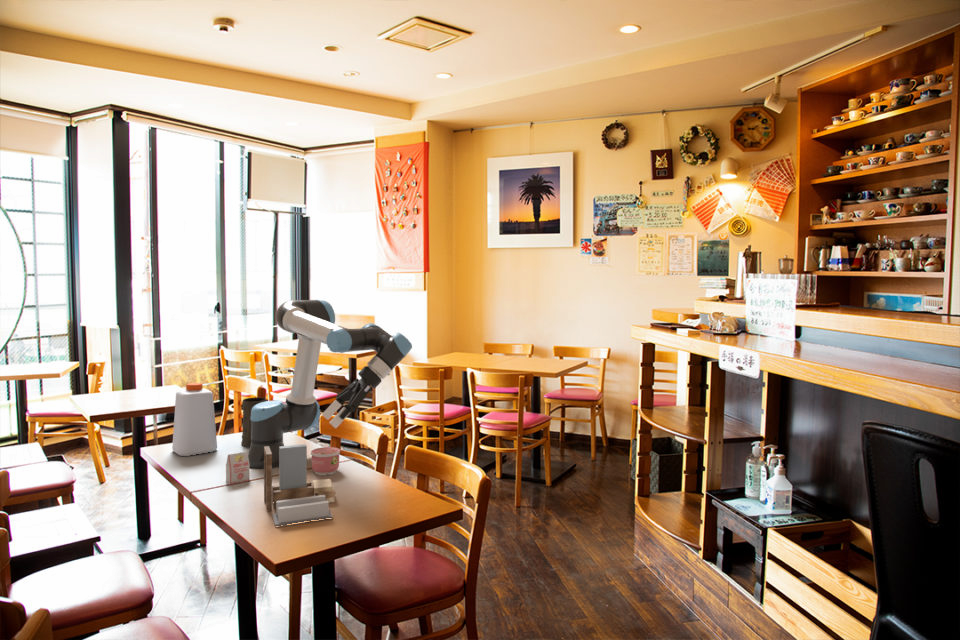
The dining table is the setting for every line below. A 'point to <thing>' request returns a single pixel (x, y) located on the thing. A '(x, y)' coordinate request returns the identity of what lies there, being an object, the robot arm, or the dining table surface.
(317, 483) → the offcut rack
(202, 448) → the plastic bottle
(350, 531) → the dining table surface
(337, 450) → the container
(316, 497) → the slot stand
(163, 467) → the dining table surface
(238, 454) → the tea bag
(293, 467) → the slate board
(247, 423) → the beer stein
